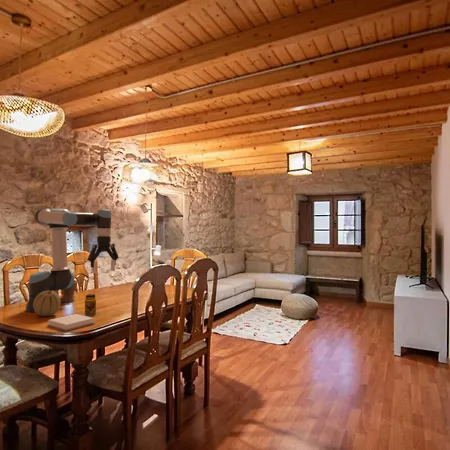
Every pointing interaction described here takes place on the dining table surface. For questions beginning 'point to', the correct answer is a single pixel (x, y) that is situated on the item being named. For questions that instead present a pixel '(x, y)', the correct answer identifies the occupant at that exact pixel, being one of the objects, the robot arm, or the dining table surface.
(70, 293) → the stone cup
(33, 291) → the robot arm
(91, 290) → the dining table surface
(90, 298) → the condiment
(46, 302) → the cantaloupe
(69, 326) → the stand
